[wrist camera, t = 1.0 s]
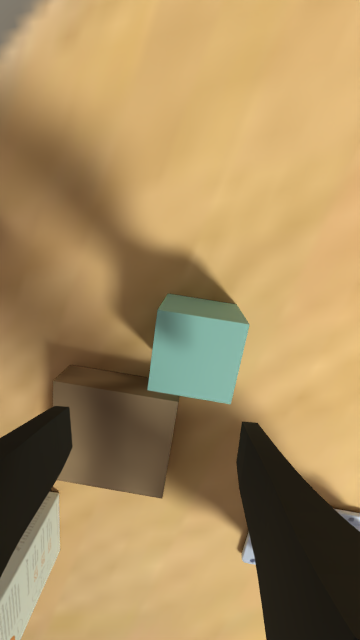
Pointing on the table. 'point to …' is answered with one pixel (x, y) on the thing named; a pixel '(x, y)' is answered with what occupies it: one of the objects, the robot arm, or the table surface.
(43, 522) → the small box
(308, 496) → the robot arm
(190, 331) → the teal block
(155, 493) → the walnut slab
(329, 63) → the table surface
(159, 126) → the table surface
